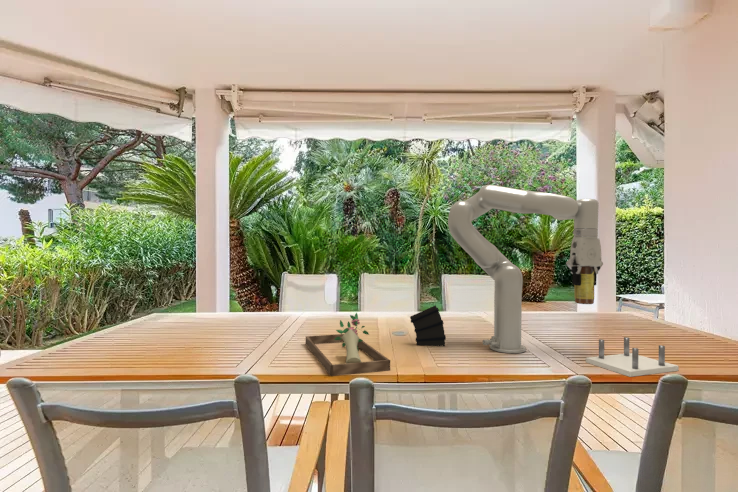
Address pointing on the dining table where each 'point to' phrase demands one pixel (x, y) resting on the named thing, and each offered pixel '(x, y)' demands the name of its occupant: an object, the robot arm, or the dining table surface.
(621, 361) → the standoff base
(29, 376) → the dining table surface
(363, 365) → the wooden frame
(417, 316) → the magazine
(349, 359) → the flower vase
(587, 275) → the sauce bottle
